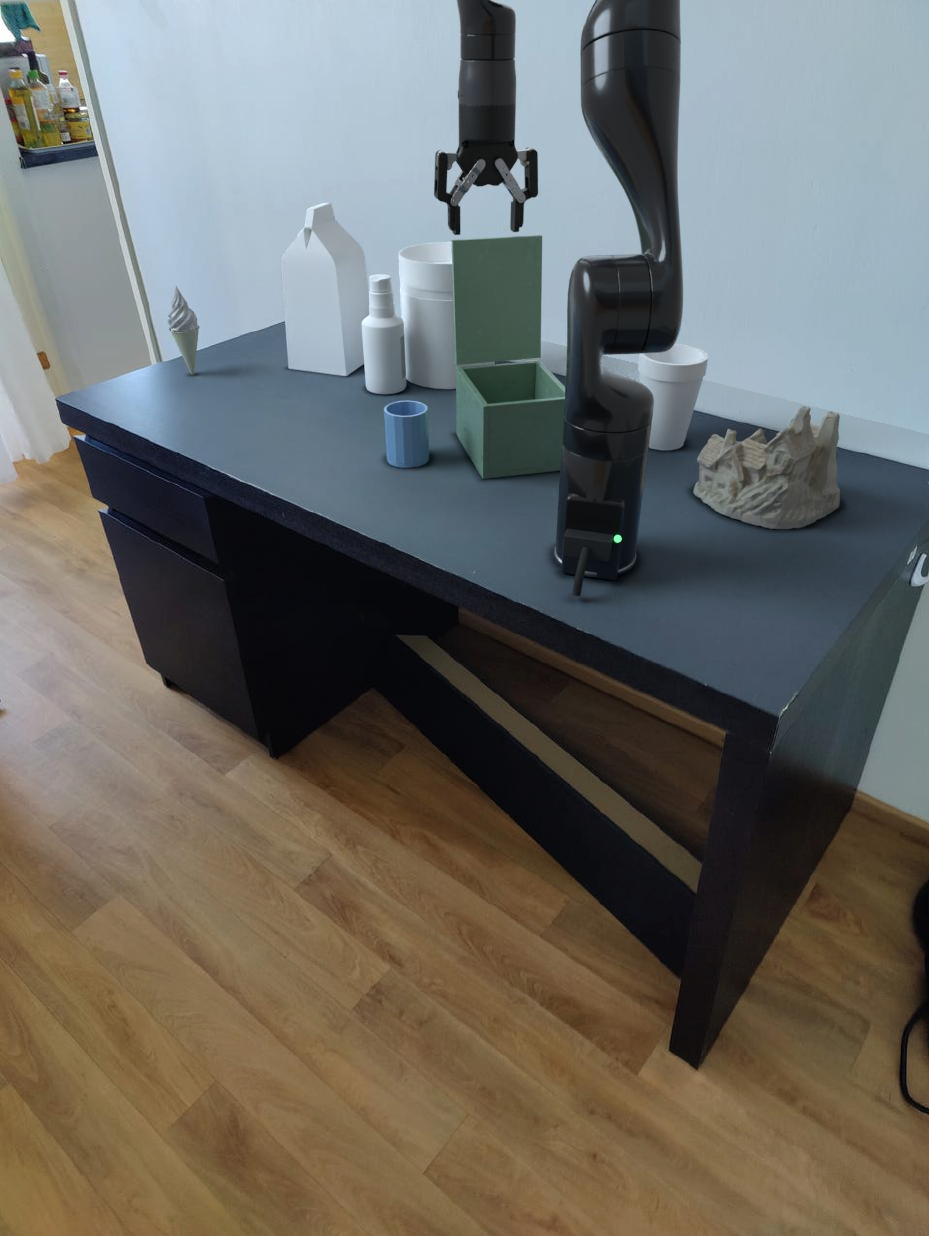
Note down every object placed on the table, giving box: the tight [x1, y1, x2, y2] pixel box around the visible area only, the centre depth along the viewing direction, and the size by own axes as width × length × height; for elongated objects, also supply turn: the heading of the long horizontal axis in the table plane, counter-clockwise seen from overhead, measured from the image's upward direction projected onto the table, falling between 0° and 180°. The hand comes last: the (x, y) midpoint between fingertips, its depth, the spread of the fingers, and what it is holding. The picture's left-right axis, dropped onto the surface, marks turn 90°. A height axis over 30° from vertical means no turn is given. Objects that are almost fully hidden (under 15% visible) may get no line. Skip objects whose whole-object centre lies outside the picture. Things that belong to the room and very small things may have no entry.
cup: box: [383, 399, 430, 469], centre depth 124 cm, size 6×6×8 cm
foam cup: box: [637, 343, 709, 451], centre depth 127 cm, size 10×9×13 cm
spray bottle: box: [362, 273, 407, 395], centre depth 144 cm, size 7×7×18 cm
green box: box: [455, 360, 565, 480], centre depth 125 cm, size 16×13×10 cm
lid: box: [450, 234, 543, 365], centre depth 126 cm, size 16×13×5 cm
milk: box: [280, 202, 370, 377], centre depth 153 cm, size 12×12×26 cm
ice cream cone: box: [167, 285, 200, 376], centre depth 151 cm, size 5×5×15 cm
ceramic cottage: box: [692, 405, 841, 530], centre depth 111 cm, size 16×16×15 cm
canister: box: [397, 241, 496, 390], centre depth 150 cm, size 16×16×20 cm
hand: (485, 232), depth 125 cm, fingers open, 8 cm apart
